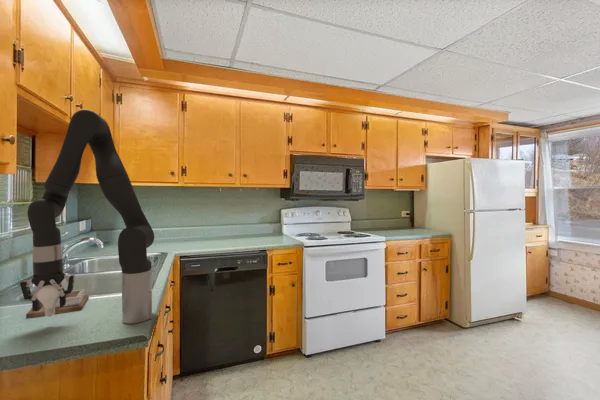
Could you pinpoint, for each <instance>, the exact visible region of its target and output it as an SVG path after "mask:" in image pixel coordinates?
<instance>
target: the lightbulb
mask: <svg viewBox="0 0 600 400" xmlns="http://www.w3.org/2000/svg"><path fill="white" fill-rule="evenodd" d="M36 297H37V299H38V300H39V301H40V302H41V303H42V305H43V307H44V310H45V317H52V316H54V315H56V314H55V305H56V302H57V300H58V298H59V297H60V294H59V291H57V289H56V288H54V287H53V285H46V286H43V287H42V288H41V289H40V290H39V291H38V293H37V294H36Z"/></svg>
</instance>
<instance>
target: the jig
mask: <svg viewBox="0 0 600 400" xmlns="http://www.w3.org/2000/svg"><path fill="white" fill-rule="evenodd" d="M89 299H90V297H89V294H86V289H85V288H82V289H76V290H74V289H73V290H72V292H71V293H70V294H67V295H66V304H65V305H64V306H63V307H61V308H60V299H59V298H58V300H57V302H56V305H55V314H54V315H58V314H64V313H70V312H76V311H82V310H83V309H84V307H85V306H86V303H87V302H88V300H89ZM44 316H45V310H44V307H43V305H42V303H41V302H40V310H39V311H36V312H35V310H33V309H32V308H31V309H29V311H27V313H26V314H25V317H26V319H30V318H37V317H38V318H39V317H44ZM45 317H46V316H45Z"/></svg>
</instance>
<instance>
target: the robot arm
mask: <svg viewBox="0 0 600 400" xmlns="http://www.w3.org/2000/svg"><path fill="white" fill-rule="evenodd" d="M87 145H88V146H89V147H90V150H91V152H92V154H93V156H94V162H95V164H94V165H95V174H96V180H97V182H98V184H99V186H100V190H101V192H102V194H103V195H104V197H105V199H106V200H107V201H108V203H110V205H111V206H112V207H113V208H114V209H115V210H116V211H117V212H118V214H119V215H120V216H121V218H122V220H123V222H124V225H125V228H123V229H122V230H121V231H120V232H119V234H118V239H117V252H118V253H117V255H118V263H119V266H120V268H121V309H122V310H121V311H122V312H121V317H122V318H121V319H122V320H121V321H122V323H124V324H127V325H129V324H132V325H133V324H139V323H142V322H143V323H144V322H146V321H148V320H152V319H153V291H152V290H153V289H152V288H153V287H152V285H153V284H152V261H151V260H150V259H148V254H147V250H148V248H149V247H151V246H152V244H154V241H155V232H154V230H153V227H152V226H151V223H149V220H148V218H147V217H146V215H145V214H144V212H143V209H142V208H141V205H140V202H139V199H138V197H137V195H136V194H137V193H136V192H135V190H134V187H133V184H132V182H131V180H130V176H129V175H128V172H127V170H126V168H125V166H124V163H123V161H122V159H121V158H120V155H119V154H118V153H119V152H118V151H117V149H116V145H115V142H114V139H113V135H112V132H111V129H110V126H109V124H108V122H107V120H106V119H104V118H103V117H102V116H101V115H100V114H98V113H97V112H95V111H94V110H90V109H84V108H83V109H79V110H76V111H75V112H74V113H73V114H72V116H71V118H70V121H69V123H68V127H67V130H66V134H65V137H64V140H63V143H62V146H61V149H60V151H59V153H58V157H57V159H56V161H55V163H54V165H53V167H52V169H51V170H50V172H49V174H48V177H47V178H46V180H45V181H44V185H43V187H44V189H45V191H44V193H43V196H42V198H39V199H36V200H33V201H32V202H30V204H29V205H28V207H27V219H28V223H29V227H30V229H31V232H32V253H31V254H32V278H31V279H28V280H27V279H24V280H22V281H20V284H19V285H20V288H21V292H22V296H23V298H24V300H25V301H27V300H30V301H31V305H32V307H31V309H33V310H35V312H36V311H39V310H40V301H39V300H38V299H37V297H36V294H37V293H38V291H39V290H40V289H41V288H42V287H43V286H46V285H53V287H54V288H56V289H57V291H59V294H60V297H59V299H60V308H61V307H63V306H64V305H65V304H66V295H67V294H70V293H71V292H72V291H73V290H74V286H75V285H74V284H75V279H76V275H75V274H68V275H67V274H65V273H64V264H63V263H64V260H63V259H64V258H63V257H64V255H63V254H64V253H63V247H62V235H61V234H62V233H61V229H60V228H59V227H57V222H56V218H58V217H59V216H60V215H61V214H62V213H63V212H64V209H65V207H66V204H67V201H68V197H69V194H70V192H71V190H72V188H73V186H74V184H75V183H76V181H77V179H78V176H79V174H80V170H81V164H82V158H83V155H84V151H85V149H86V147H87ZM64 279H65V281H66V282H67V289H65V287H64V285H63V284H62V282H63V280H64ZM32 285H35V287H36V289H35V291H34V293H33V294H32V292H31V291H32V290H31V288H30V287H31V286H32Z"/></svg>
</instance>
